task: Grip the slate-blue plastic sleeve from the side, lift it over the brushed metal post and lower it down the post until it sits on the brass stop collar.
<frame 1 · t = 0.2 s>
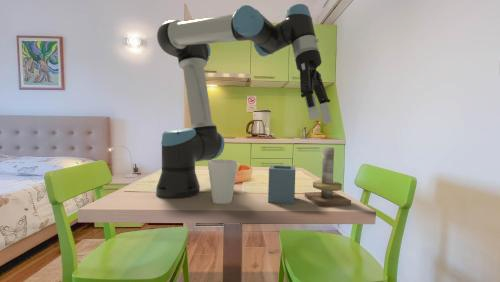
hand: (321, 121, 71), 26 cm above the table, tool tilted 15°, fingers open, 13 cm apart
foam cup: (222, 201, 78), on the table
post stand: (326, 200, 81), on the table
sleeve: (281, 199, 81), on the table
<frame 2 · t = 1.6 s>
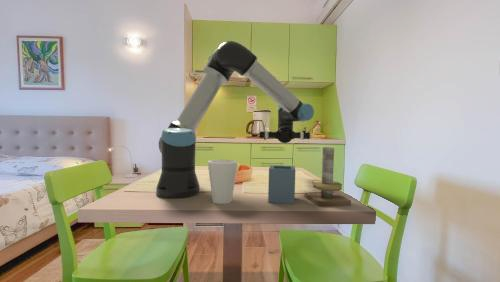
hand: (283, 135, 89), 22 cm above the table, tool horizontal, fingers open, 13 cm apart
nothing on the table moved.
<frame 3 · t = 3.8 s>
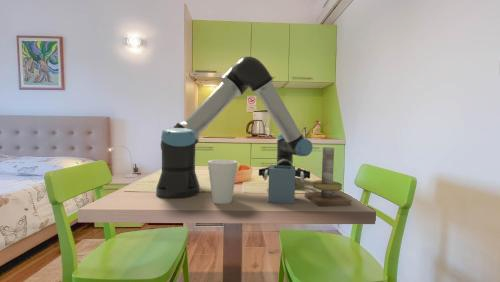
hand: (283, 177, 87), 6 cm above the table, tool horizontal, fingers open, 13 cm apart
nothing on the table moved.
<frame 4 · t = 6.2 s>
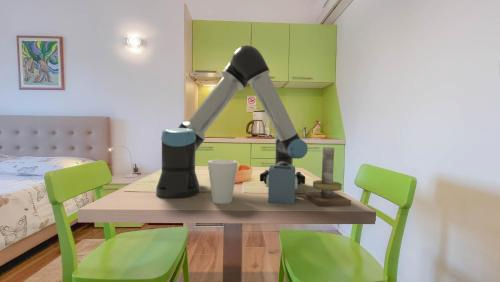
hand: (281, 183, 76), 6 cm above the table, tool horizontal, fingers closed on sleeve, 8 cm apart
sleeve: (281, 199, 81), on the table, touching gripper
everything else where it was.
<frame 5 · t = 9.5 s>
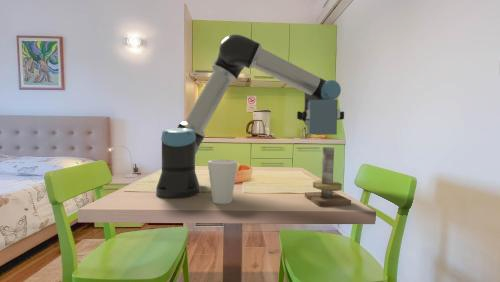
hand: (323, 113, 75), 29 cm above the table, tool horizontal, fingers closed on sleeve, 8 cm apart
sleeve: (321, 134, 80), point 23 cm above the table, touching gripper
everything else where it was.
when the fingers open (14 cm above the table, at t = 12.9 s): sleeve drops 1 cm, resting on post stand.
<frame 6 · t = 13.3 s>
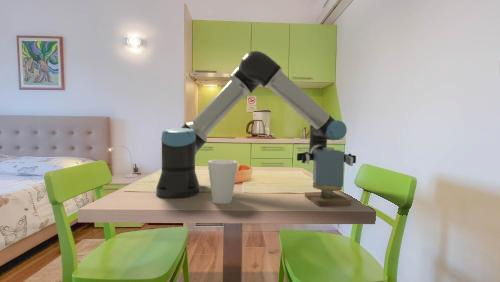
hand: (329, 160, 77), 14 cm above the table, tool horizontal, fingers open, 13 cm apart
sleeve: (327, 183, 80), point 6 cm above the table, touching post stand
everything else where it was.
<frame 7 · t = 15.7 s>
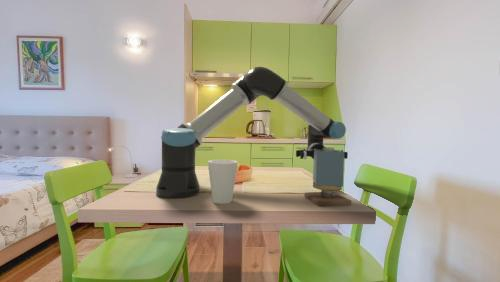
hand: (324, 156, 89), 14 cm above the table, tool horizontal, fingers open, 13 cm apart
nothing on the table moved.
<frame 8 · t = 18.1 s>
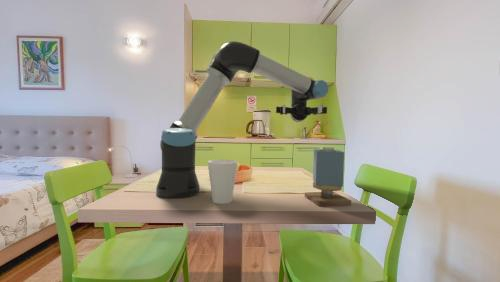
hand: (302, 108, 89), 32 cm above the table, tool horizontal, fingers open, 13 cm apart
nothing on the table moved.
at the end: sleeve 0.1 cm off-centre on the post stand, point 6.0 cm above the post stand's base; sleeve tilted 0°; the gripper is holding nothing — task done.
